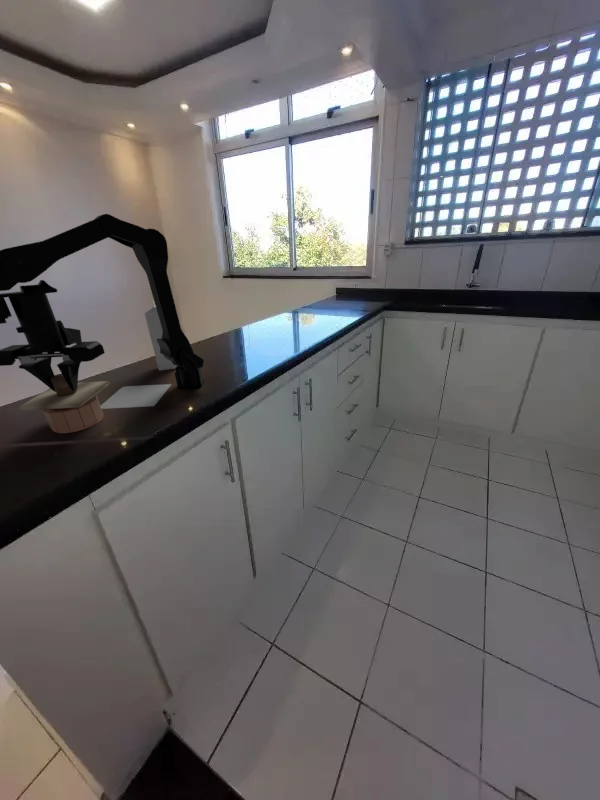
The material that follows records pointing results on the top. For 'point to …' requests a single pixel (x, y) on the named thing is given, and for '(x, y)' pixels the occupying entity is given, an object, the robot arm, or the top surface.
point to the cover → (64, 395)
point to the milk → (155, 334)
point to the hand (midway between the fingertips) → (66, 390)
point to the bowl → (74, 417)
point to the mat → (136, 396)
